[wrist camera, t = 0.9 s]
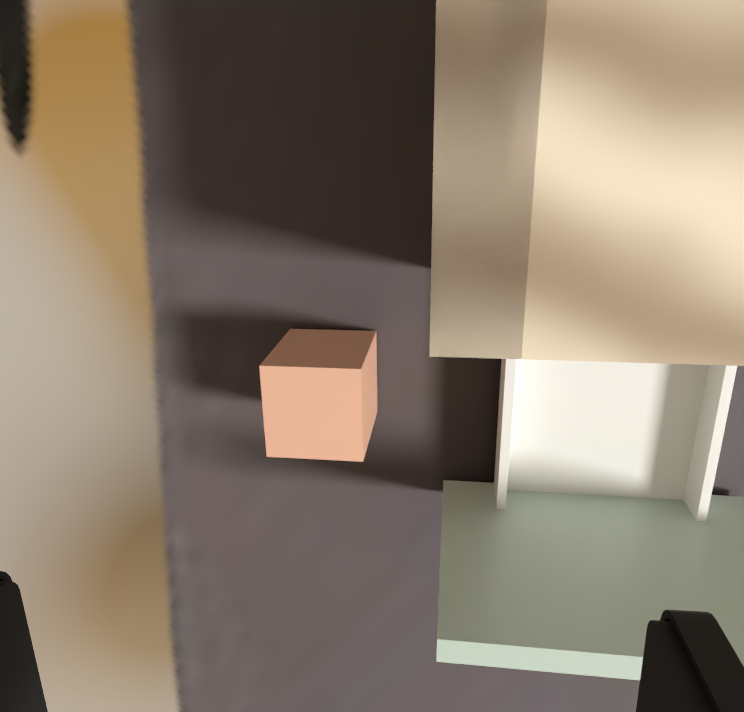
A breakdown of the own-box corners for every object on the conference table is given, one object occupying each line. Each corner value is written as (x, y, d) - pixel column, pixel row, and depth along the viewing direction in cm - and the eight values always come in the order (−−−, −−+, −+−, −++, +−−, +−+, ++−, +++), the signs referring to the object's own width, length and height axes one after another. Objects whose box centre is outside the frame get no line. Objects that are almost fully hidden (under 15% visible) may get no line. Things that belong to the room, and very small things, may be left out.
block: (290, 328, 36) (259, 365, 30) (376, 330, 35) (361, 369, 29) (295, 407, 37) (266, 456, 32) (377, 411, 37) (363, 461, 31)
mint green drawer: (451, 205, 32) (447, 248, 20) (808, 205, 30) (1037, 253, 18) (442, 497, 38) (436, 661, 26) (740, 514, 36) (878, 702, 24)
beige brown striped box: (449, -134, 27) (442, -363, 15) (899, -165, 25) (1354, -468, 12) (439, 271, 33) (429, 356, 21) (800, 275, 31) (1035, 374, 18)
